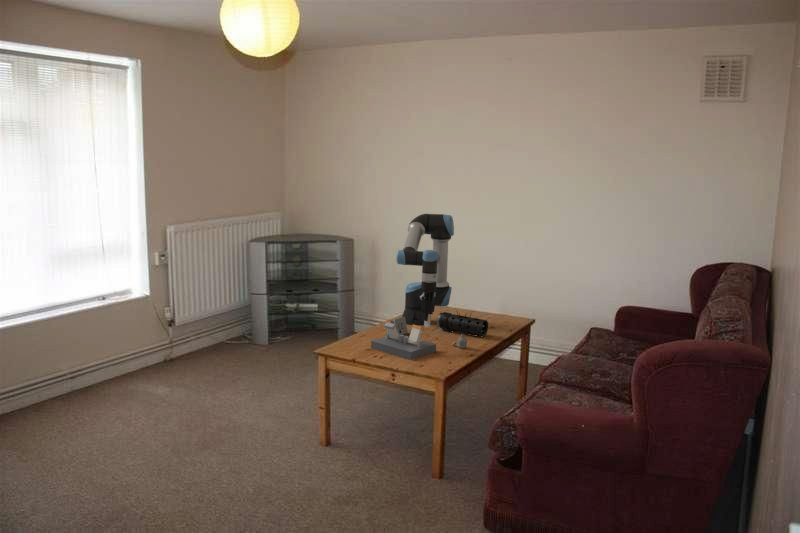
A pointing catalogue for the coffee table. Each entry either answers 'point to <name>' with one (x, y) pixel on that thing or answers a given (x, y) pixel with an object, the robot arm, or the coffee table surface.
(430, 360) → the coffee table surface
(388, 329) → the breaker
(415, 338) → the breaker
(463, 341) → the reed diffuser
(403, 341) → the breaker panel
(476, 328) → the muzzle brake
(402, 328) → the electrical switch
